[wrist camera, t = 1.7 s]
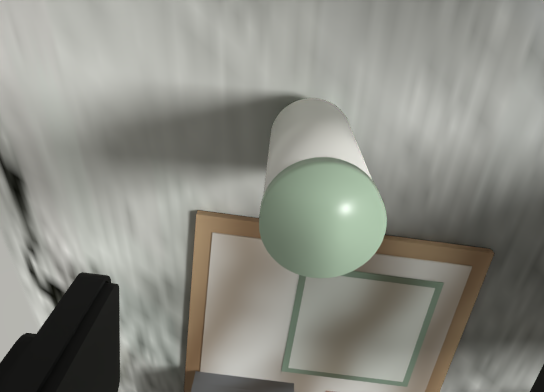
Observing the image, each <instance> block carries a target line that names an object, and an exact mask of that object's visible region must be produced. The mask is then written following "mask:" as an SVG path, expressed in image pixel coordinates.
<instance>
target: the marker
mask: <svg viewBox="0 0 544 392" xmlns="http://www.w3.org/2000/svg"><path fill="white" fill-rule="evenodd" d="M386 226H387V216H386V210H385V206H384V203H383V201H382V198H381V196H380V194H379V191H378V189H377V187H376V185H375V184H374V182H373V181H372V178H371V176H370V173H369V171H368V168H367V166H366V164H365V161H364V159H363V156H362V154H361V151H360V149H359V146H358V144H357V142H356V139H355V137H354V134H353V132H352V129H351V127H350V125H349V122H348V120H347V118H346V116H345V115H344V113H343V112H342V111H341V110H340V109H339V108H338V107H337V106H335V105H334V104H332V103H330V102H328V101H326V100H323V99H318V98H306V99H301V100H298V101H295V102H293V103H291V104H289V105H288V106H286V107H285V108H284V109H283V110H282V111H281V112H280V113H279V114H278V116H277V117H276V119H275V121H274V123H273V126H272V129H271V135H270V144H269V152H268V161H267V169H266V178H265V187H264V195H263V198H262V202H261V208H260V216H259V231H260V236H261V239H262V242H263V244H264V246H265V248H266V250H267V252H268V253H269V254H270V256H271V257H272V258H273V259H274V260H275V261H276V262H277V263H278V264H280V265H281V266H282V267H284V268H285V269H287V270H289V271H291V272H293V273H295V274H298V275H302V276H305V277H311V278H331V277H337V276H341V275H344V274H347V273H349V272H352V271H354V270H356V269H357V268H359V267H360V266H362V265H363V264H365V263H366V262H367V261H368V260H369V259H370V258H371V257H372V256H373V255H374V254H375V253H376V251H377V250H378V248H379V247H380V245H381V243H382V241H383V238H384V235H385V232H386Z"/></svg>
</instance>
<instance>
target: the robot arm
mask: <svg viewBox="0 0 544 392" xmlns="http://www.w3.org/2000/svg"><path fill="white" fill-rule="evenodd" d="M119 382H120V339H119V286H118V284H113V283H111V279H110V277H109V276H107V275H99V274H90V273H80V274H79V275H78V276H77V277H76V279H75V280H74V281H73V283H72V284H71V286H70V287H69V289H68V290H67V291H66V293H65V294H64V296H63V297H62V299H61V300H60V301H59V303H58V304H57V306H56V307H55V309H54V310H53V311H52V313H51V314H50V316H49V317H48V319H47V320H46V321H45V323H44V324H43V326H42V327H41V328H40V330H39V331H38V333H37V334H31V333H26V334H24V335H22V336H21V337H20V338H19V339H18V340H17V341H16V342H15V344H14V345H13V347H12V348H11V349H10V351H9V352H8V354H7V355H6V356H5V357H4V359H3V360H2V362H1V363H0V392H118V388H119ZM530 392H544V365H543V367H542V369H541V371H540V373H539V375H538V377H537V379H536V381H535V383H534V385H533V387H532V389H531V391H530Z"/></svg>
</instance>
